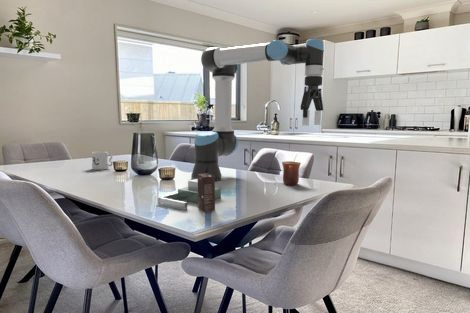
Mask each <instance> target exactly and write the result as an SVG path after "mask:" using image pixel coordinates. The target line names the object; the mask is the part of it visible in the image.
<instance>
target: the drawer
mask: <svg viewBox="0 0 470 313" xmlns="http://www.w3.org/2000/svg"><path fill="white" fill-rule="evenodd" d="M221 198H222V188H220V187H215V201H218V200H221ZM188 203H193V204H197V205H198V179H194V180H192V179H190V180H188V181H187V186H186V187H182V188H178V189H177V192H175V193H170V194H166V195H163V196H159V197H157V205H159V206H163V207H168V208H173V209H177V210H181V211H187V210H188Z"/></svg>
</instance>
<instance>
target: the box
mask: <svg viewBox="0 0 470 313" xmlns="http://www.w3.org/2000/svg"><path fill="white" fill-rule="evenodd" d="M215 183H216V181H214V176H213V175H211V174H209V173H205V174H198V204H197V208H198V209H199V210H201V211H202V212H203V213H209V212H215V211H216V200H215V188H216V186H215Z"/></svg>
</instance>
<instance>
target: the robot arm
mask: <svg viewBox="0 0 470 313" xmlns="http://www.w3.org/2000/svg"><path fill="white" fill-rule="evenodd" d="M324 49H325V48H324V40H323V39H321V38H309V39H307V40H306V41H305V45H297V46H295V45H292V44H289V43H287V42H285V41H283V40H279V39H273V40H271V41H270V42H266V43H258V44H250V45H243V46H234V47H227V48H226V47H225V48H223V47H222V46H214V47H208V48H206V49H205V50H203V52H202V54H201V58H200V62H201V65H202V66H203V69H205V70H206V71H208V72H210V73H212V76H211V78H212V79H213V80H214V83H215V84H214V92H215V93H214V95H215V97H214V99H215V100H214V104H215V105H214V128H213V129H212V130H211V131H202V132H198V133H197V134H195V135H194V136H195V137H194V142H193V143H194V166H193V169H192V172H191V176H190V178H191V179H190V180H194V179H198V174H205V173H209V174H211V175H213V176H214V182H216V181H220V180H222V179H223V178H222V173H221V169H220V165H219V157H223V156H224V157H226V156H230V155H232V154H233V153H235V152H236V151H237V148H238V146H239V140H238V137H237V136H236V135H235V129H233V127H232V94H233V93H232V92H233V90H232V88H233V87H232V86H233V80H234V79H235V75H236V74H237V72H238V70H239V67H240V65H243V64H253V63H263V62H264V63H265V62H277V61H279V62H280V64H281V65H283V66H285V65H287V66H289V65H298V64H304V76H305V77H304V87H303V89H304V90H303V95H302V99H301V103H300V110H301V111H302V123H301V124H302V125H301V126H308V127H309V126H310V109H309V108H310V107H311V104H312V101H313V105H314V108H315V110H314V122H313V125H314V126H321V125H322V124H321V123H322V121H321V119H322V118H321V117H322V112H323V111H324V105H323V97H322V95H323V94H322V88H319V87H320V86H322V85H323V71H324V70H325V69H324V66H323V65H324V51H325V50H324Z"/></svg>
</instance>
